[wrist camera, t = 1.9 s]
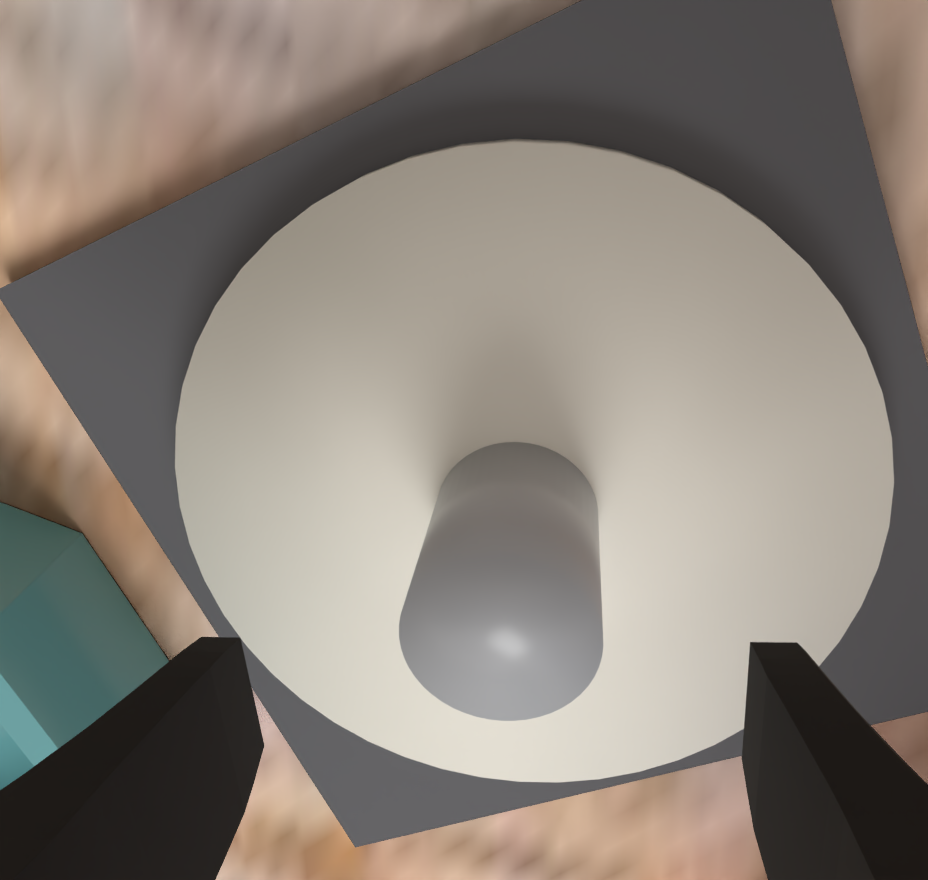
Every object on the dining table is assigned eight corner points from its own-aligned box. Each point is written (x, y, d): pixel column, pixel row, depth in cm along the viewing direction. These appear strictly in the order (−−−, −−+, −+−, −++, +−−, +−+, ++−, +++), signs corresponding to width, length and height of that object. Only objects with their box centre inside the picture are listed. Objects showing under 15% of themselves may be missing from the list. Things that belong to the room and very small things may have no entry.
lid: (753, -11, 14) (834, -38, 9) (955, 666, 18) (1071, 859, 14) (62, 318, 18) (-108, 408, 13) (373, 811, 22) (323, 997, 18)
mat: (794, -104, 14) (802, -110, 13) (1003, 675, 19) (1013, 690, 18) (10, 284, 18) (-5, 291, 17) (359, 831, 23) (355, 847, 23)
